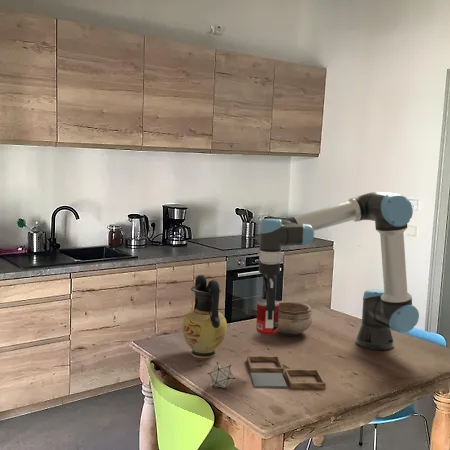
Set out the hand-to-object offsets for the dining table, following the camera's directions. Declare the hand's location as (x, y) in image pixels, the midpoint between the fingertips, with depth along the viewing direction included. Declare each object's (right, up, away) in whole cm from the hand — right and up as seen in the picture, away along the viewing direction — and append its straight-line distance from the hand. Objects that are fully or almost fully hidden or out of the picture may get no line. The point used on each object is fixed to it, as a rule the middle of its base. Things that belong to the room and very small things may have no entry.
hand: (267, 324), depth 196 cm
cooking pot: (+13, -12, +41) cm, 44 cm away
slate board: (-1, -18, -11) cm, 20 cm away
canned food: (0, -3, 0) cm, 3 cm away
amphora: (-24, -14, +12) cm, 30 cm away
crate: (-1, -16, +2) cm, 16 cm away
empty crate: (+12, -18, -10) cm, 24 cm away
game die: (-17, -18, -17) cm, 30 cm away
